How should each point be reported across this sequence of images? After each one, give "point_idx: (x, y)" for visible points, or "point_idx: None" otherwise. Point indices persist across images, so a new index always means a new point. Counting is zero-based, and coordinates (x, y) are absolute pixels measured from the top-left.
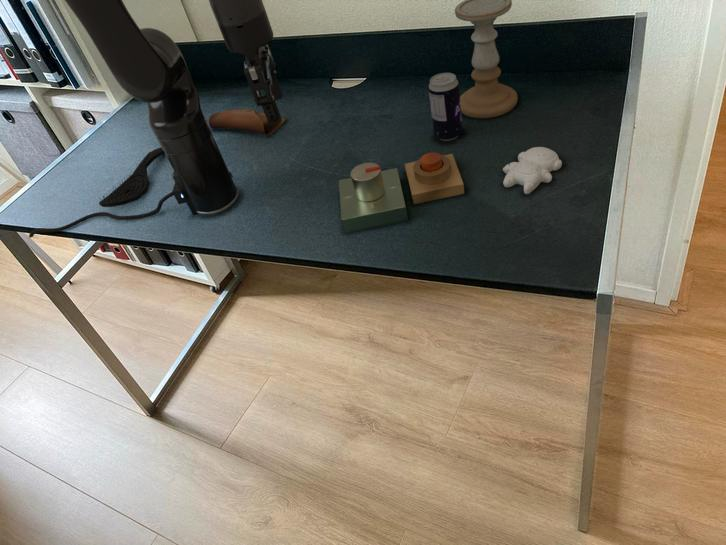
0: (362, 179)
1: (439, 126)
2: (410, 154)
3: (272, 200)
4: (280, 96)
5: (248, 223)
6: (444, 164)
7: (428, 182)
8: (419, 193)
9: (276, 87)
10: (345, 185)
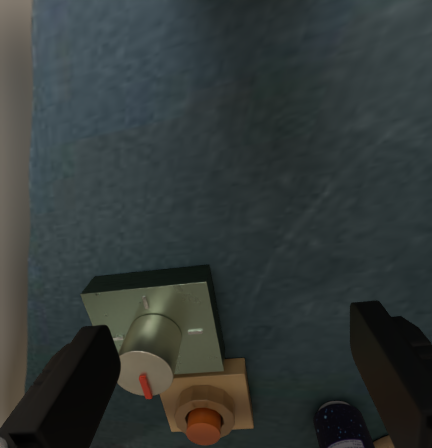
0: None
1: (325, 434)
2: (300, 364)
3: (213, 110)
4: (355, 353)
5: (129, 62)
6: None
7: (177, 402)
8: None
9: (380, 402)
10: (185, 295)
